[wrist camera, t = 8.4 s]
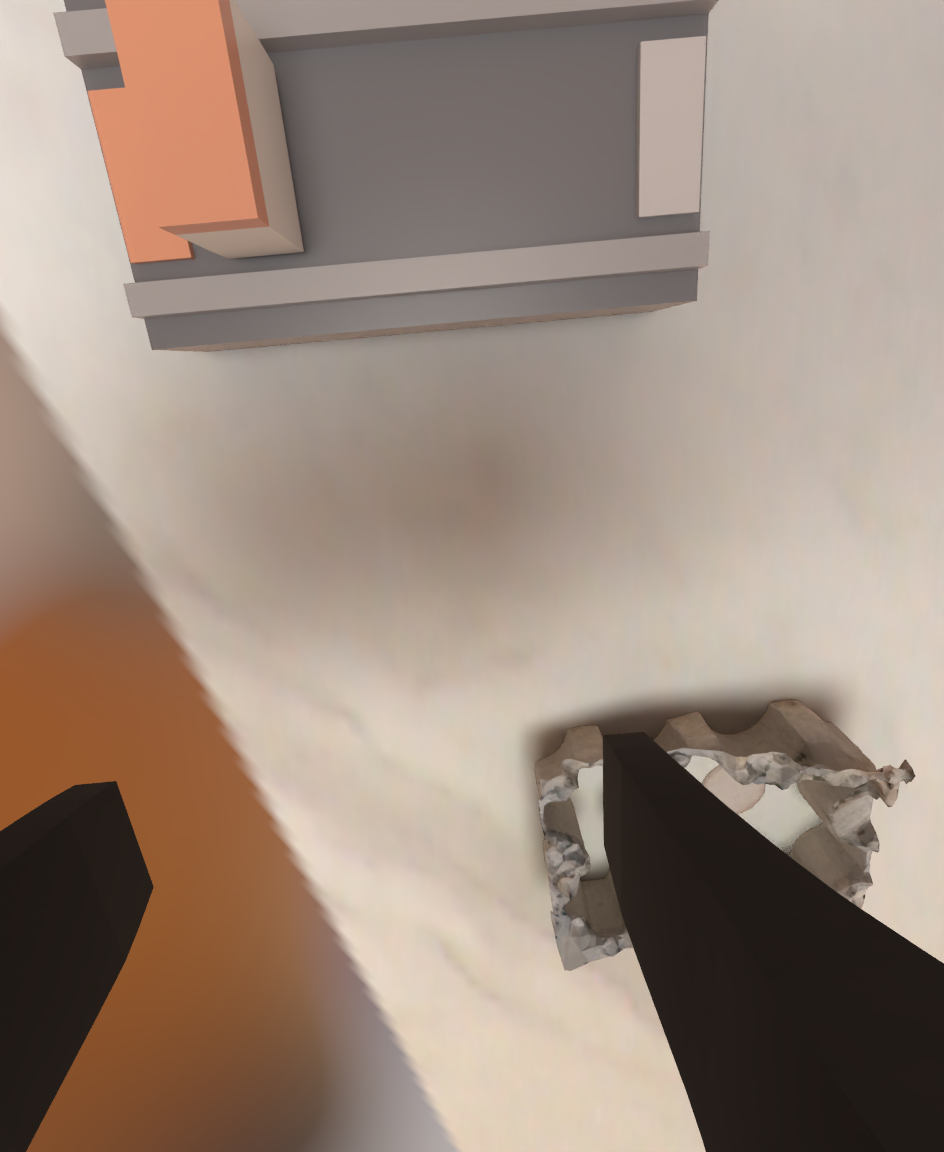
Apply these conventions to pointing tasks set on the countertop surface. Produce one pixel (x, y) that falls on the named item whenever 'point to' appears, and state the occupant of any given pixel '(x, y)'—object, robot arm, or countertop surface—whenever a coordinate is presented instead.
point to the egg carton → (747, 762)
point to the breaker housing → (438, 169)
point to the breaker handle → (208, 125)
